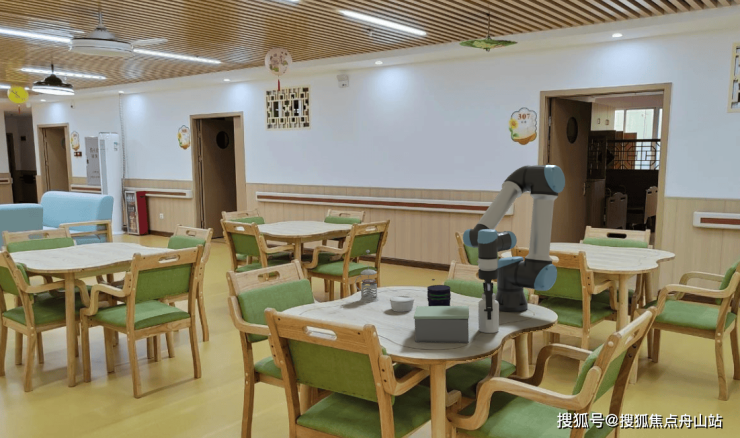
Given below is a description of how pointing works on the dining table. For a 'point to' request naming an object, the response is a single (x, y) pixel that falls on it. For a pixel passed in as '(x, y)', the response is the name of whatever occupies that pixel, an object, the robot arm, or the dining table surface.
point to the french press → (368, 286)
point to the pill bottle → (483, 315)
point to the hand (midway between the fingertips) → (488, 322)
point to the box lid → (442, 312)
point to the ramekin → (402, 303)
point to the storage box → (442, 330)
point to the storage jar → (438, 295)
